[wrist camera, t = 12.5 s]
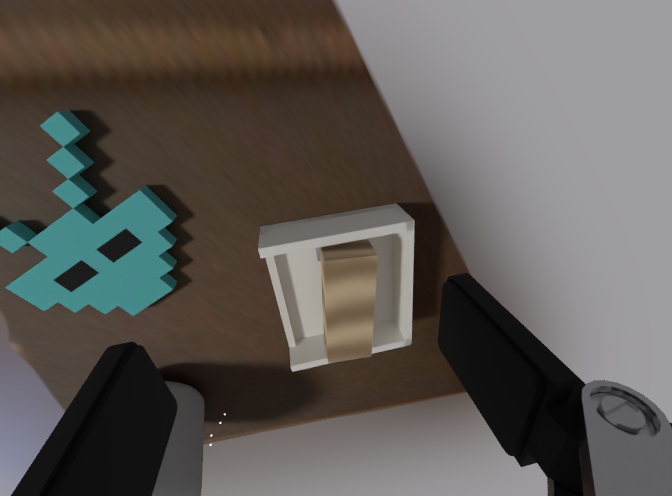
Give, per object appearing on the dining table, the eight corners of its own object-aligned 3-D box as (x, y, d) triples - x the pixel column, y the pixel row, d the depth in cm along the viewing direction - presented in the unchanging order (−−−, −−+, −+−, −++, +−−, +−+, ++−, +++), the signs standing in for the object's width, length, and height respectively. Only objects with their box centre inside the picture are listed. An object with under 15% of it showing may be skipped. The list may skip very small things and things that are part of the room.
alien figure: (-68, 221, 31) (103, 329, 41) (-91, 230, 29) (94, 341, 39) (72, 110, 29) (217, 253, 38) (57, 111, 27) (214, 261, 36)
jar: (244, 403, 52) (223, 624, 31) (184, 443, 54) (124, 676, 33) (152, 349, 43) (30, 611, 22) (84, 400, 45) (-90, 684, 24)
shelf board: (319, 243, 35) (324, 260, 32) (368, 239, 36) (377, 255, 33) (324, 341, 43) (328, 363, 39) (363, 335, 44) (371, 356, 40)
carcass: (260, 226, 37) (258, 248, 32) (396, 203, 39) (414, 220, 34) (290, 340, 47) (292, 371, 42) (397, 317, 49) (411, 344, 44)
